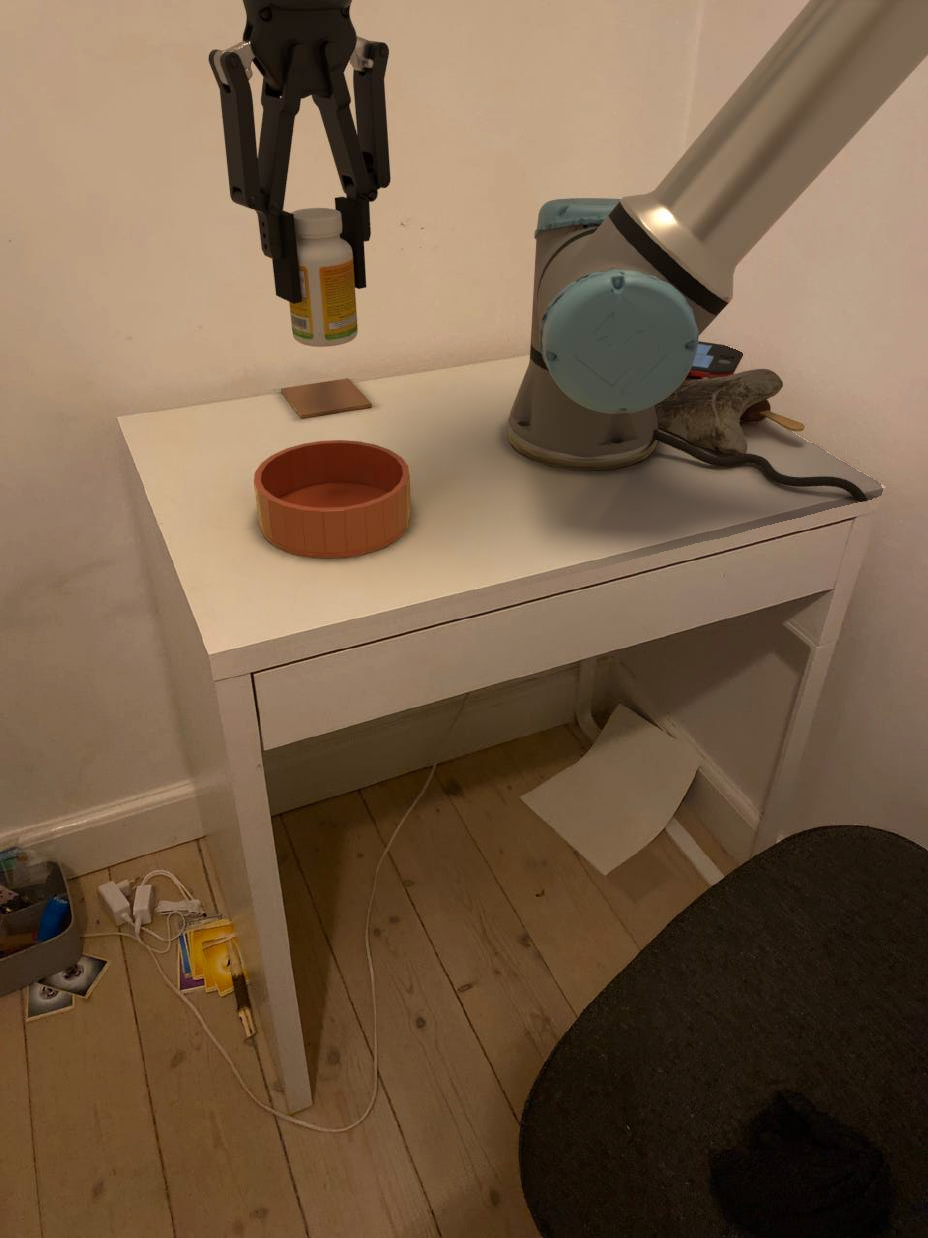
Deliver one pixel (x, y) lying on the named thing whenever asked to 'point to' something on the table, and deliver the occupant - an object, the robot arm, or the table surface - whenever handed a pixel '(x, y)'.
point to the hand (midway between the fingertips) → (321, 290)
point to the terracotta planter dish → (333, 498)
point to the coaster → (325, 398)
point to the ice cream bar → (765, 414)
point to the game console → (714, 361)
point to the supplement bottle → (323, 280)
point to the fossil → (716, 408)
